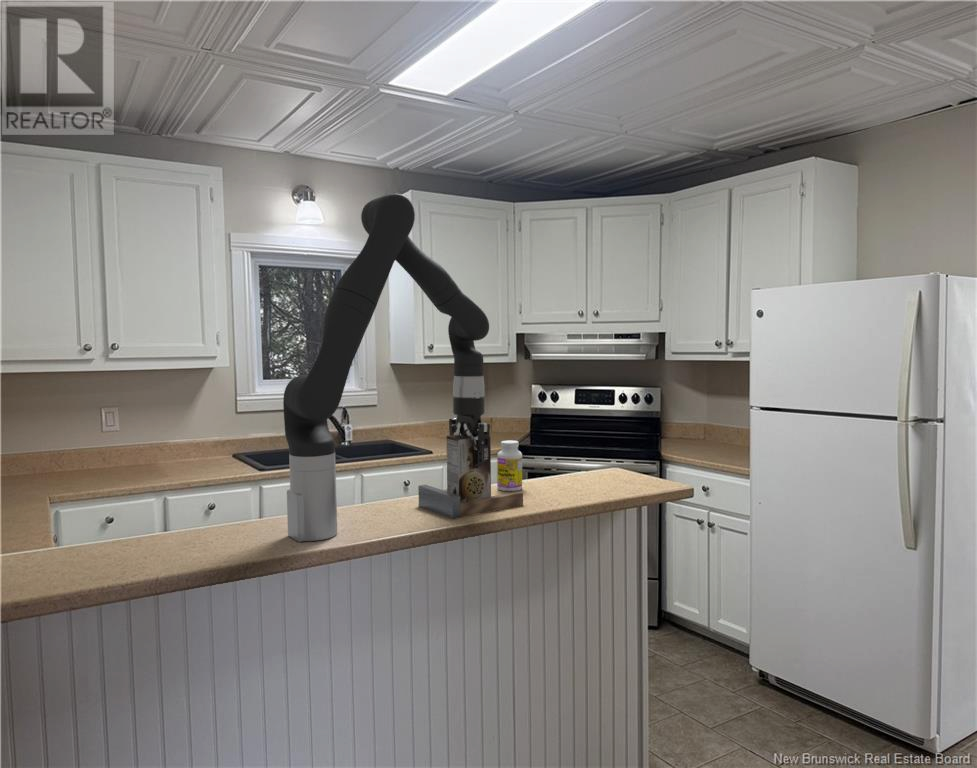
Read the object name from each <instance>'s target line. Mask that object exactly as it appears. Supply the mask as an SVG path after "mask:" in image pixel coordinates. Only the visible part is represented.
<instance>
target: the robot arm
mask: <svg viewBox="0 0 977 768" xmlns="http://www.w3.org/2000/svg"><path fill="white" fill-rule="evenodd" d="M415 217H416V215H415V208H414V205H413V203H412V202H411V200H410V198H409V197H408V196H406V195H404V194H401V193H390V194H388V193H387V194H385V195H382V196H380V197H378V198H377V197H376V198H374V199H371V200H370V201H369V202H367V203H365V205H364V206H363V208H362V209H361V214H360V218H361V225H362V226H363V229H364V230H365V232H366V233H367V234H368V236H367V240H366V241H365V244H364V246H363V247H362V249H361V251H360V252H359V254H358V255H357V256H356V257H355V258H354V259H353V261H352V262H351V263H350V265H349V266H348V267H347V269H346V270H345V271H344V272H343V274H342V276H341V277H340V279H339V280H338V282H337V284H336V285H335V288H334V290H333V292H332V295H331V297H330V298H329V301H328V304H327V307H326V310H325V314H324V319H323V329H322V339H321V345H320V349H319V352H318V354H317V356H316V358H315V361H314V362H313V365H312V367H311V369H310V371H309V373H308V374H301V375H300V374H299V375H298V376H295V377H294V378H292V379H290V381H289V382H288V383H287V385H286V387H285V389H284V391H283V392H284V393H283V407H282V408H283V423H284V424H283V425H284V435H285V440H286V442H287V446H288V455H289V456H288V458H289V489H287V490H286V506H287V507H286V509H287V510H286V511H287V512H286V513H287V514H286V516H287V536H288V537H290V538H292V539H293V540H295V541H296V542H298V543H300V542H314V541H316V542H317V541H321V540H327V539H330V538H333V537H336V536H337V534H338V513H337V512H338V510H337V509H338V508H337V503H338V502H337V475H336V474H337V473H336V472H337V470H336V468H337V467H336V464H337V463H336V441H335V438H334V437H333V435H332V433H331V431H330V428H329V424H328V419H329V418H331V417H332V416H333V415H334V414H335V413H336V411H337V409H338V408H339V406H340V403H341V400H342V396H343V393H344V390H345V387H346V383H347V380H348V377H349V374H350V371H351V367H352V364H353V361H354V359H355V357H356V355H357V352H358V350H359V348H360V345H361V343H362V341H363V338H364V336H365V333H366V331H367V329H368V327H369V325H370V323H371V320H372V318H373V315H374V313H375V310H376V307H377V305H378V303H379V300H380V297H381V295H382V293H383V291H384V288H385V285H386V283H387V280H388V279H389V276H390V274H391V269H392V267H393V266H394V263H395V261H396V262H397V263H398V264H399V265H400V266H401V268H403V269H404V271H405V272H407V274H408V275H409V276H410V278H412V279H413V281H414V282H415V283H416V284H417V285H418V287H420V289H421V290H422V291H423V293H424V294H425V296H426V297H427V298H428V299H429V301H431V303H432V304H433V306H434V307H435V308H436V310H438V311H439V312H440V313H442V314H444V315H447V316H449V317H450V319H449V322H448V327H447V329H448V332H447V333H448V338H449V343H450V348H451V351H452V354H453V382H452V383H453V384H452V394H453V395H452V397H453V398H452V413H453V415H455V416H456V417H453V418H449V419H448V425H449V427H448V428H449V430H448V431H449V432H448V433H449V436H452V435H464V436H467V437H468V438H470V441H471V442H472V446H473V449H474V451H473V466H476V467H477V466H481V465H482V462H483V458H482V457H483V450H484V449H485V448H489V436H491V435H490V430H491V425H490V423H489V422H488V423H487V422H482V416H483V415H484V414H485V407H486V406H485V387H486V386H485V379H484V356H483V355H484V354H482V353H481V352H480V351H478V350H477V349H476V347H475V346H476V345H475V341H481V340H483V339H484V338H486V337H487V335H488V334H489V332H490V322H489V320H488V317H487V315H486V313H485V312H484V310H483V309H482V308H481V307H479V305H477V303H475V301H473V300H472V299H471V298H469V296H467V295H466V294H464V293H463V291H462V290H461V289H460V287H459V286H458V285H457V283H456V282H455V281H454V279H453V277H452V276H451V275H450V274H449V273H448V271H447V270H445V268H444V267H443V266H442V265H441V264H440V263H438V262H437V261H436V260H435V259H433V258H432V257H430V255H428V254H427V253H426V252H424V250H422V249H421V248H420V247H419V245H416V243H415V242H414V241H413V240H412V239H411V238H410V233H411V231H412V229H413V227H414V224H415V219H416V218H415ZM477 435H478V437H476V436H477ZM483 439H485V443H483ZM476 441H478V445H477V444H476Z"/></svg>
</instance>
